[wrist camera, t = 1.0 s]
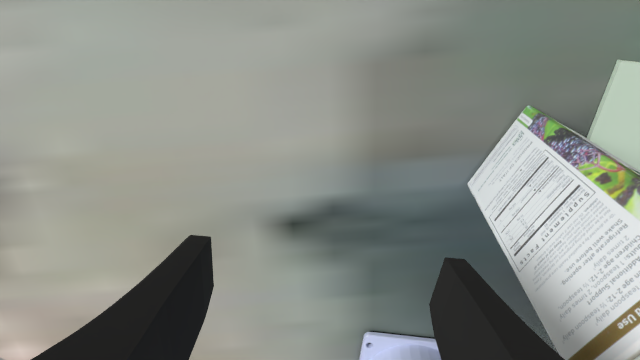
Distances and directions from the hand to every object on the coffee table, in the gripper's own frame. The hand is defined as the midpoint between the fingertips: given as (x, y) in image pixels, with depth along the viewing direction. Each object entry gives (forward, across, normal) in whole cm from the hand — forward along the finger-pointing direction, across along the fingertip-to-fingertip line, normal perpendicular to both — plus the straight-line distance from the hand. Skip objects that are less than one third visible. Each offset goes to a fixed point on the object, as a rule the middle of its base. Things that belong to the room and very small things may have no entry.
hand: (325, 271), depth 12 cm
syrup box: (+12, -12, +1) cm, 17 cm away
